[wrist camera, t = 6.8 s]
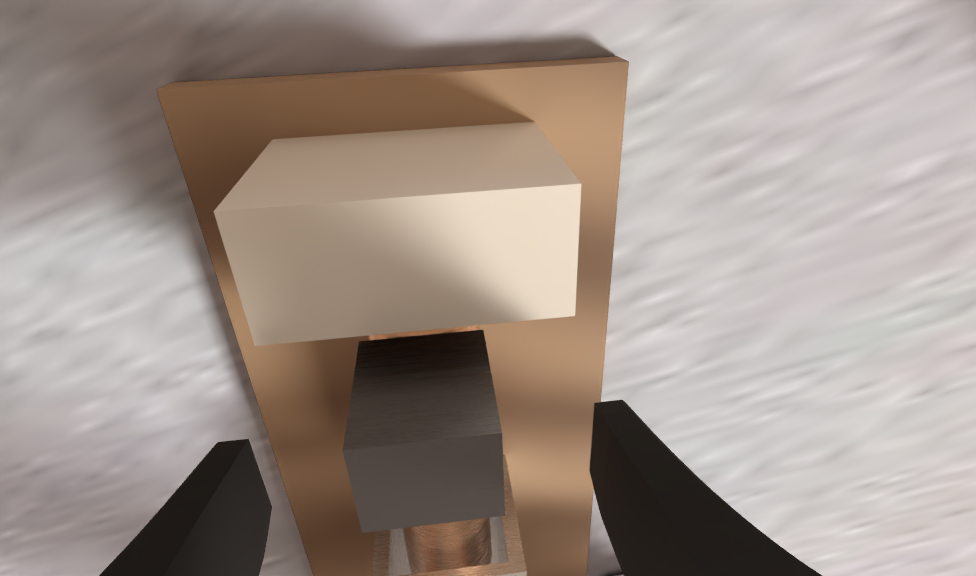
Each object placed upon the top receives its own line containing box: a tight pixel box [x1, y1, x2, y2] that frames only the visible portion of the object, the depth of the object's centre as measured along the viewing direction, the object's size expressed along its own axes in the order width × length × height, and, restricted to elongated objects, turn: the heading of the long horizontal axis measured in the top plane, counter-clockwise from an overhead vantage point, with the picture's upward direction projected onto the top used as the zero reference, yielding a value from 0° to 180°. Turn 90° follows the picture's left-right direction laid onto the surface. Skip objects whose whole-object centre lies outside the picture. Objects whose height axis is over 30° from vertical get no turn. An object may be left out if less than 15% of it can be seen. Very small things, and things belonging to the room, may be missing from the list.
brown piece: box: [343, 325, 505, 574], centre depth 15 cm, size 14×3×6 cm, turn 2°
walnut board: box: [157, 56, 629, 576], centre depth 21 cm, size 23×12×1 cm, turn 2°
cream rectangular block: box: [214, 122, 581, 346], centre depth 14 cm, size 3×7×5 cm, turn 92°
